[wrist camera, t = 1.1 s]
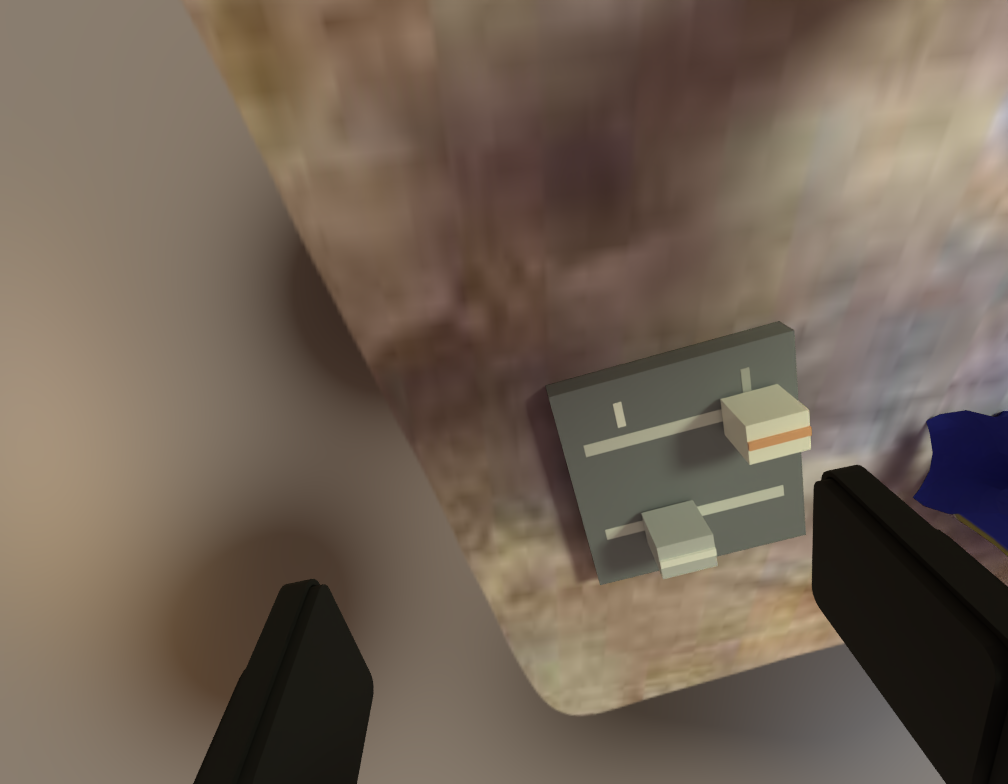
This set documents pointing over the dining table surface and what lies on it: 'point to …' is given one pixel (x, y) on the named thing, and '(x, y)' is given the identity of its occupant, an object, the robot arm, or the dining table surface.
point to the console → (677, 448)
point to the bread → (970, 472)
